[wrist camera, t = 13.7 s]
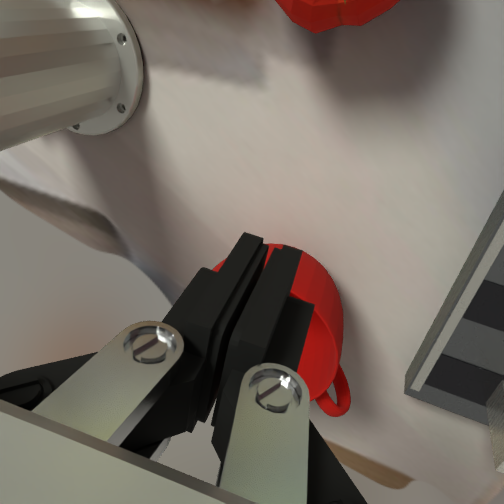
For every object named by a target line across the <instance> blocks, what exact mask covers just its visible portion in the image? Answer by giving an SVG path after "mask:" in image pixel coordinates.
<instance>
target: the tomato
mask: <svg viewBox="0 0 504 504" xmlns="http://www.w3.org/2000/svg"><path fill="white" fill-rule="evenodd" d="M275 1H276V2H277V3H278V4H279V6H280V7H281V8H282V9H283V11H284V12H285V13H286V14H287V16H288V17H289V18H290V19H291V20H292V22H294V23H296V24H298V25H300V26H302V27H304V28H305V29H307V30H309V31H311V32H313V33H315V34H316V33H319V32H322V31H325V30H328V29H331V28H334V27H337V26H341V25H355V26H362V25H364V24H365V23H367V22H369V21H370V20H372V19H374V18H375V17H377V16H379V15H381V14H382V13H384V12H386V11H387V10H389V9H391V8H392V7H393V6H394V5H395V4H396V3H397V2H398V1H400V0H275Z"/></svg>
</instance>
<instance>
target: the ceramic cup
mask: <svg viewBox="0 0 504 504" xmlns="http://www.w3.org/2000/svg"><path fill="white" fill-rule="evenodd" d="M266 245H269V249H268V254H267V258H266V262H265V265H266V263H267V261H268V259H269V257H270V255H271V253H272V251H273V249H274V248H275V247H276V248H279V249H282V247H283V244H266ZM290 247H291V246H290ZM293 248H295V247H293ZM296 249H297V248H296ZM226 259H227V258H226ZM226 259H224V260H223V261H222V262H220V263H219V264H218V265H217V266H216V267H215V268H213V269H212V270H213V271H216V272H218V271H219V269H220V268H221V266H222V265H223V263H224V262H225V260H226ZM264 267H265V266H264ZM289 296H291V297H294V298H297V299H300V300H304V301H307V302H310V303H313V304H315V307H314V311H313V315H312V318H311V322H310V326H309V329H308V333H307V337H306V341H305V344H304V348H303V352H302V355H301V359H300V363H299V366H298V370H297V374H298V375H299V376H300V377H301V378H302V379H303V380H304V382H305V383H306V385H307V387H308V390H309V396H310V401H312V400H314V399H315V400H316V402H317V404H318V405H319V407H320V408H321V409H322V410H323V411H324V412H325V413H326V414H327V415H329V416H332V417H338V416H341V415H344V414H345V413H346V412H347V411H348V410H349V407H350V403H351V397H350V390H349V386H348V382H347V379H346V377H345V374H344V372H343V370H342V368H341V366H340V364H339V362H340V357H341V351H342V343H343V309H342V304H341V300H340V296H339V293H338V290H337V288H336V286H335V284H334V281H333V279H332V278H331V276H330V275H329V273H328V272H327V271H326V269H325V268H324V267H323V266H322V265H321V264H320V263H319V262H318V261H317V260H316V259H315V258H313V257H312V256H310V255H309V254H307V253H306V252H304V251H303V252H302V255H301V259H300V262H299V265H298V269H297V272H296V275H295V279H294V282H293V285H292V289H291V292H290V295H289ZM332 381H333V384H334V387H335V391H336V395H337V405H336V404H335V403H334V402H333V400H332V399H331V398H330V396H329V394H328V393H327V389H328V388H329V386H330V385H331V383H332Z"/></svg>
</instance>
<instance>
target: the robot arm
mask: <svg viewBox="0 0 504 504" xmlns="http://www.w3.org/2000/svg"><path fill="white" fill-rule="evenodd" d="M142 86H143V61H142V56H141V51H140V47H139V44H138V41H137V38H136V35H135V32H134V30H133V28H132V26H131V24H130V22H129V21H128V19H127V17H126V15H125V14H124V12H123V11H122V10H121V8H120V7H119V6H118V4H117V3H116V2H115V1H114V0H0V151H2V150H5V149H8V148H11V147H13V146H16V145H19V144H22V143H25V142H28V141H30V140H33V139H36V138H39V137H42V136H45V135H47V134H50V133H53V132H56V131H59V130H62V129H64V128H66V129H68V130H70V131H72V132H75V133H79V134H83V135H101V134H105V133H108V132H110V131H113V130H115V129H117V128H119V127H120V126H122V125H123V124H125V122H126V121H127V120H128V119H129V118H130V117H131V116H132V114H133V113H134V111H135V109H136V107H137V105H138V103H139V100H140V96H141V93H142ZM268 249H269V245H266V244H263V238H261V237H258V236H255V235H252V234H249V233H246V232H244V233H243V234H242V236H241V238H240V239H239V241H238V242H237V244H236V245H235V247H234V248H233V250H232V251H231V253H230V254H229V256H228V257H227V259H226V260H225V262H224V263H223V265H222V266H221V268H220V269H219V271H218V272H216V271H213V270H210V269H207V268H204V267H203V268H201V269H200V270H199V271H198V273H197V274H196V275H195V277H194V278H193V279H192V281H191V282H190V284H189V285H188V286H187V288H186V289H185V290H184V292H183V293H182V295H181V296H180V297H179V299H178V300H177V301H176V303H175V304H174V306H173V307H172V308H171V310H170V311H169V312H168V314H167V315H166V316H165V318H164V319H163V321H162V322H156V321H143V322H138V323H135V324H132V325H130V326H129V327H127V328H125V329H124V330H123V331H122V332H120V333H119V334H118V335H117V336H116V337H115V338H114V339H112V340H111V341H110V342H109V343H108V344H107V345H106V346H105V347H103V348H102V349H101V350H100V351H99V352H96V353H91V354H87V355H83V356H78V357H74V358H70V359H66V360H61V361H57V362H53V363H48V364H44V365H40V366H35V367H30V368H26V369H22V370H18V371H14V372H11V373H9V374H6V375H4V376H2V377H0V504H367V502H366V501H365V499H364V498H363V496H362V495H361V494H360V492H359V491H358V489H357V488H356V486H355V485H354V483H353V482H352V480H351V479H350V477H349V476H348V474H347V473H346V472H345V470H344V469H343V467H342V466H341V464H340V463H339V461H338V460H337V458H336V457H335V456H334V454H333V453H332V451H331V450H330V448H329V447H328V445H327V444H326V442H325V441H324V439H323V438H322V437H321V435H320V434H319V432H318V431H317V429H316V428H315V426H314V425H313V423H312V422H311V421H310V419H309V406H310V396H309V390H308V387H307V385H306V383H305V382H304V380H303V379H302V378H301V377H300V376H299V375H298V374H297V370H298V366H299V363H300V359H301V355H302V352H303V348H304V344H305V341H306V337H307V333H308V329H309V326H310V322H311V318H312V315H313V311H314V307H315V304H313V303H310V302H307V301H304V300H300V299H297V298H294V297H291V296H289V295H290V292H291V289H292V285H293V282H294V279H295V275H296V272H297V269H298V265H299V262H300V259H301V255H302V252H303V250H299V249H296V248H293V247H290V246H287V245H283V247H282V249H279V248H276V247H275V248H274V249H273V251H272V253H271V255H270V257H269V259H268V261H267V263H266V265H265V262H266V258H267V254H268ZM264 266H265V267H264ZM216 398H217V399H216ZM215 400H216V404H215V408H214V413H213V417H212V422H211V425H212V426H214V432H213V436H212V441H211V442H212V444H213V446H214V448H215V451H216V453H217V455H218V457H219V459H220V461H221V463H220V467H219V472H218V476H217V481H216V486H214V485H212V484H209V483H207V482H204V481H202V480H199V479H197V478H195V477H192V476H190V475H187V474H185V473H182V472H180V471H177V470H175V469H172V468H170V467H167V466H165V465H163V464H160V463H158V462H157V460H158V459H159V457H160V456H161V455H162V453H163V452H164V451H165V449H166V448H167V446H168V444H169V442H170V438H171V437H172V436H175V435H178V434H180V433H183V432H186V431H188V432H190V433H192V431H193V429H194V427H195V425H196V423H197V421H198V420H199V421H201V422H204V423H205V422H206V420H207V418H208V416H209V413H210V411H211V409H212V407H213V405H214V402H215Z"/></svg>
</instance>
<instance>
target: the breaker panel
mask: <svg viewBox="0 0 504 504" xmlns="http://www.w3.org/2000/svg"><path fill="white" fill-rule="evenodd" d="M404 394H406V395H409V396H411V397H414V398H417V399H419V400H422V401H425V402H427V403H430V404H433V405H435V406H438V407H440V408H443V409H446V410H448V411H451V412H454V413H456V414H459V415H462V416H464V417H467V418H470V419H472V420H475V421H477V422H480V423H483V424H485V425H488V426H489V429H490V436H491V443H492V450H493V457H494V463H495V470H496V471H498V472H501V473H503V474H504V191H503V193H502V194H501V196H500V198H499V200H498V202H497V204H496V206H495V208H494V209H493V211H492V213H491V215H490V217H489V219H488V221H487V223H486V224H485V226H484V228H483V230H482V232H481V234H480V236H479V238H478V239H477V241H476V243H475V245H474V247H473V249H472V251H471V253H470V254H469V256H468V258H467V260H466V262H465V264H464V266H463V268H462V269H461V271H460V273H459V275H458V277H457V279H456V281H455V283H454V284H453V286H452V288H451V290H450V292H449V294H448V296H447V298H446V299H445V301H444V303H443V305H442V307H441V309H440V311H439V313H438V315H437V316H436V318H435V320H434V322H433V324H432V326H431V328H430V330H429V331H428V333H427V335H426V337H425V339H424V341H423V343H422V345H421V346H420V348H419V350H418V352H417V354H416V356H415V358H414V360H413V361H412V363H411V365H410V367H409V369H408V371H407V373H406V375H405V388H404Z"/></svg>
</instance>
